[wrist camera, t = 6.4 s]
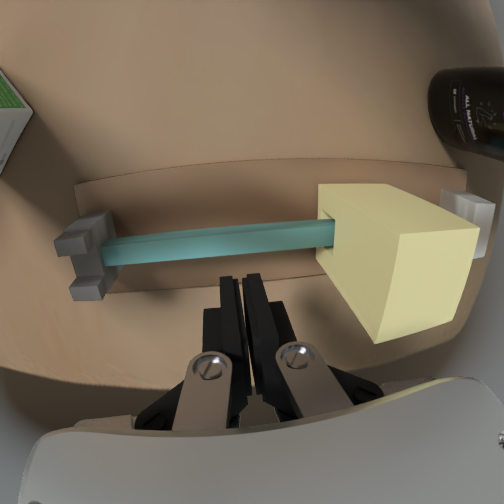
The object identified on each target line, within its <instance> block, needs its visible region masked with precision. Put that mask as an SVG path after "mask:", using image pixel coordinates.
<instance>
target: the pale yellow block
mask: <svg viewBox="0 0 504 504" xmlns="http://www.w3.org/2000/svg"><path fill="white" fill-rule="evenodd" d="M319 219H335V235H334V246H323V247H316V260H317V261H318V262H319V264H320V265H321V266H322V268H323V269H324V271H325V272H326V273H327V275H328V276H329V278H330V279H331V280H332V282H333V283H334V285H335V286H336V288H337V289H338V290H339V292H340V293H341V295H342V296H343V298H344V299H345V301H346V302H347V303H348V305H349V306H350V308H351V309H352V311H353V312H354V314H355V315H356V317H357V318H358V320H359V321H360V323H361V324H362V326H363V327H364V329H365V330H366V332H367V333H368V335H369V336H370V338H371V339H372V341H373V342H374V344H378V343H382V342H385V341H389V340H393V339H396V338H400V337H403V336H406V335H410V334H413V333H416V332H419V331H422V330H426V329H429V328H432V327H435V326H437V325H440V324H443V323H446V322H449V321H451V320H452V319H453V317H454V314H455V312H456V309H457V306H458V304H459V301H460V298H461V295H462V292H463V290H464V287H465V283H466V280H467V277H468V274H469V271H470V267H471V264H472V260H473V256H474V252H475V248H476V244H477V240H478V236H479V231H480V227H478V226H476V225H474V224H472V223H470V222H468V221H467V220H465V219H463V218H461V217H459V216H457V215H455V214H453V213H451V212H449V211H447V210H445V209H443V208H441V207H439V206H436V205H434V204H432V203H430V202H428V201H426V200H423V199H421V198H419V197H417V196H414V195H412V194H410V193H407V192H405V191H403V190H400V189H398V188H395V187H393V186H390V185H388V184H318V220H319Z"/></svg>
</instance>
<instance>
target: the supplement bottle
mask: <svg viewBox="0 0 504 504" xmlns="http://www.w3.org/2000/svg"><path fill="white" fill-rule="evenodd" d="M428 107H429V113H430V117H431V120H432V122H433V125H434V127H435V129H436V131H437V132H438V134H439V135H440V137H441V138H442V139H443V140H444V141H445V142H446V143H447V144H448V145H450V146H452V147H454V148H457V149H460V150H464V151H468V152H472V153H475V154H479V155H483V156H486V157H490V158H493V159H496V160H499V161H502V162H504V67H463V68H451V69H444V70H441V71H439V72H438V73H436V74H435V76H434V77H433V78H432V80H431V83H430V85H429V90H428Z"/></svg>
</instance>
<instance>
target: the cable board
mask: <svg viewBox="0 0 504 504" xmlns="http://www.w3.org/2000/svg"><path fill="white" fill-rule="evenodd" d="M467 174H468V170H465V169H459V168H452V167H445V166H437V165H428V164H419V163H409V162H397V161H383V160H365V159H332V158H298V159H265V160H246V161H231V162H219V163H208V164H198V165H188V166H180V167H172V168H164V169H157V170H150V171H143V172H137V173H131V174H125V175H120V176H114V177H109V178H104V179H99V180H94V181H89V182H84V183H80V184H76V185H73V186H74V192H75V197H76V203H77V208H78V212H79V217H80V218H79V219H77V220H76V221H75V222H73V223H72V224H71V225H69V226H68V227H67V228H65V229H64V230H63V232H64V233H63V234H62V235H60V236H59V237H58V238H57V239H56V240H54V245H55V248H56V251H57V255H58V257H61V256H70V258H71V261H72V264H73V267H74V270H75V273H76V276H77V278H76V279H75V280H74V281H73V283H72V284H71V285H70V287H69V290H70V293H71V295H72V298H73V300H74V301H94V300H103V298H104V296H105V294H106V293H116V292H133V291H148V290H162V289H175V288H188V287H200V286H212V285H220V279H219V277H221V276H232V277H233V279H236V278H238V283H242V278H246V277H247V274H252V273H260V275H261V279H262V281H264V280H274V279H283V278H292V277H301V276H309V275H318V274H326V272H325V271H324V269H323V268H322V266H321V265H320V264H319V262H318V261H317V260H316V247H323V246H334V235H335V219H319V220H318V184H388V185H390V186H393V187H395V188H398V189H400V190H403V191H405V192H407V193H410V194H412V195H414V196H417V197H419V198H421V199H423V200H426V201H428V202H430V203H432V204H434V205H436V206H439V207H441V208H443V209H445V210H447V211H449V212H451V213H453V214H455V215H457V216H459V217H461V218H463V219H465V220H467V221H468V222H470V223H472V224H474V225H476V226H478V227H480V231H479V236H478V240H477V244H476V248H475V252H474V256H473V259H475V258H480V257H484V255H485V251H486V248H487V244H488V239H489V235H490V231H491V226H492V221H493V216H494V210H495V204H494V203H492V202H490V201H487V200H485V199H483V198H480V197H478V196H476V195H473V194H471V193H468V192H466V184H467Z"/></svg>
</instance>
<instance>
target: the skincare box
mask: <svg viewBox="0 0 504 504" xmlns="http://www.w3.org/2000/svg"><path fill="white" fill-rule="evenodd" d="M32 113H33V111H32V109H31V108H30V107H29V105H28V104H27V103H26V102H25V101H24V100H23V98H22V97H21V95H20V94H19V93H18V92H17V90H16V89H15V88H14V87H13V85H12V84H11V83H10V82H9V80H8V79H7V78H6V77H5V75H4V74H3V72H2V71H1V70H0V174H1V172H2V170H3V168H4V166H5V164H6V161H7V159H8V157H9V155H10V153H11V151H12V150H13V148H14V146H15V144H16V142H17V140H18V138H19V136H20V134H21V133H22V131H23V129H24V127H25V126H26V124H27V122H28V121H29V119H30V117H31V115H32Z"/></svg>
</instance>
